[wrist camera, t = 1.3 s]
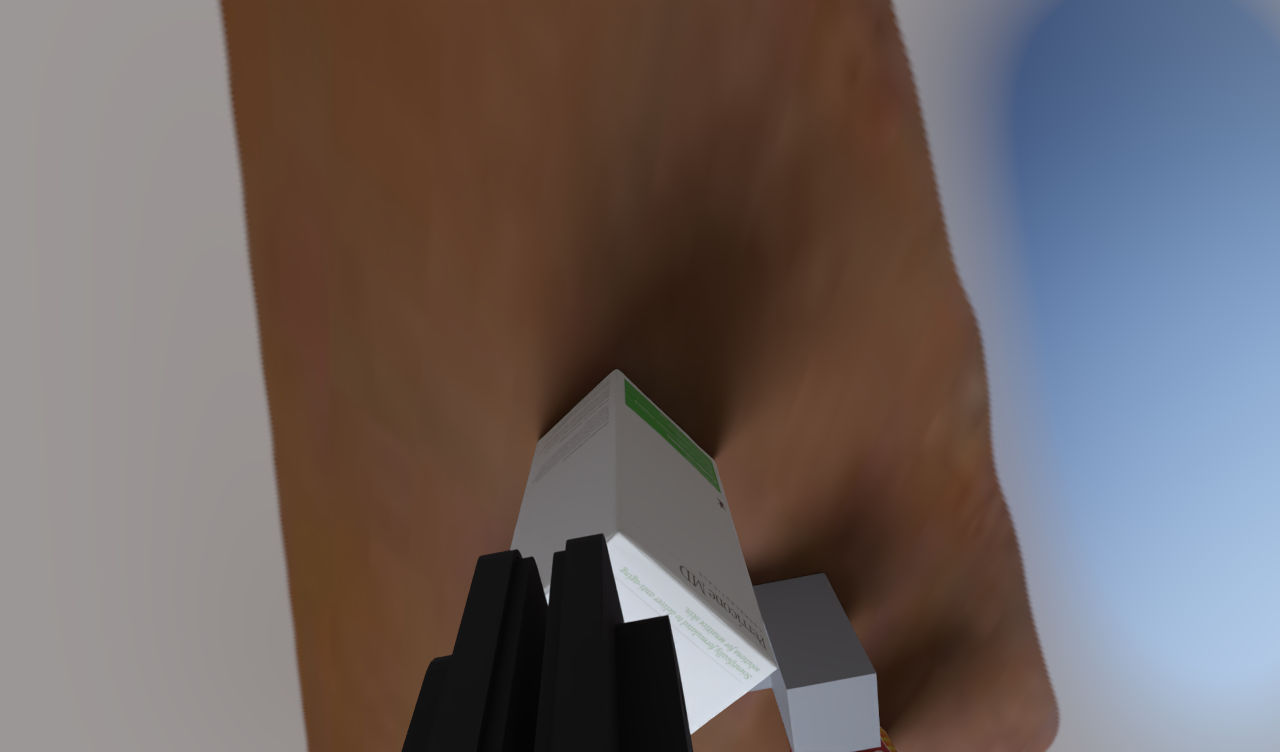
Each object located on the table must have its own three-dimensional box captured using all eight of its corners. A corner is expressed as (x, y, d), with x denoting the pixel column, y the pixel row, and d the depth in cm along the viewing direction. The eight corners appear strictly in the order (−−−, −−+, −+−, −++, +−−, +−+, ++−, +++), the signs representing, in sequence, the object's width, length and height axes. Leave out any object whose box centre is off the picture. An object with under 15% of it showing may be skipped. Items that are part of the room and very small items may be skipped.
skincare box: (716, 460, 38) (794, 672, 23) (632, 533, 39) (654, 777, 24) (612, 360, 35) (624, 526, 21) (525, 442, 36) (479, 652, 22)
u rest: (484, 635, 41) (458, 750, 33) (824, 572, 41) (876, 673, 33) (503, 697, 42) (484, 820, 35) (830, 637, 42) (880, 746, 35)
